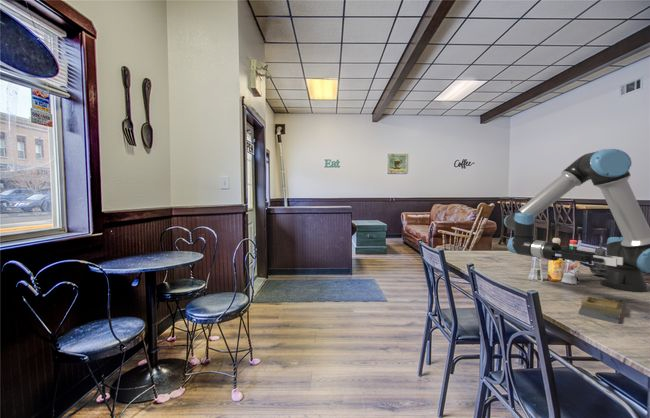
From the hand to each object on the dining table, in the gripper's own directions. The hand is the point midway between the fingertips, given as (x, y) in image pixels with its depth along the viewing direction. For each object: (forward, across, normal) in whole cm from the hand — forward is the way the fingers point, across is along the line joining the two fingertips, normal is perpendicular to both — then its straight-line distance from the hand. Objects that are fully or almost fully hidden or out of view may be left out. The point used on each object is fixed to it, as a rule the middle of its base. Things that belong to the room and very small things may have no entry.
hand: (619, 262), depth 102 cm
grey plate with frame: (-5, 0, -19) cm, 19 cm away
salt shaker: (-5, 0, -7) cm, 9 cm away
